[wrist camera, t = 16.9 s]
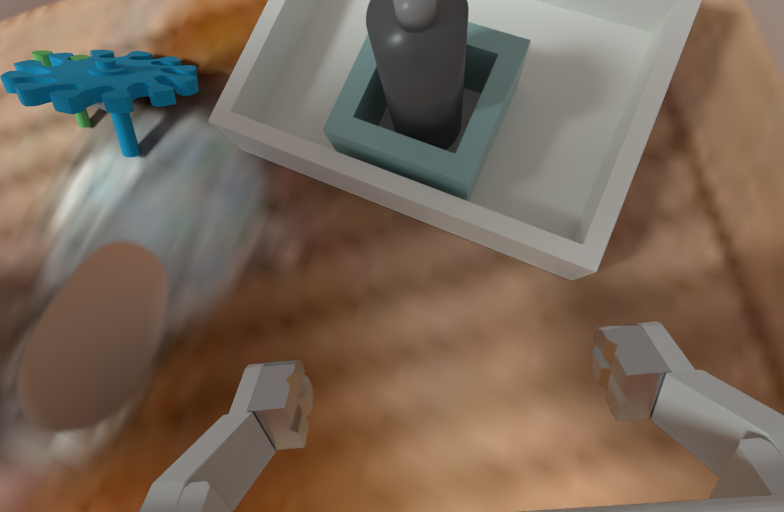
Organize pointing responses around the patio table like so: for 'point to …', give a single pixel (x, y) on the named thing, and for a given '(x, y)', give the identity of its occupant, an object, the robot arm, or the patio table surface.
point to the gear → (101, 85)
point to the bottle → (421, 65)
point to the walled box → (471, 117)
